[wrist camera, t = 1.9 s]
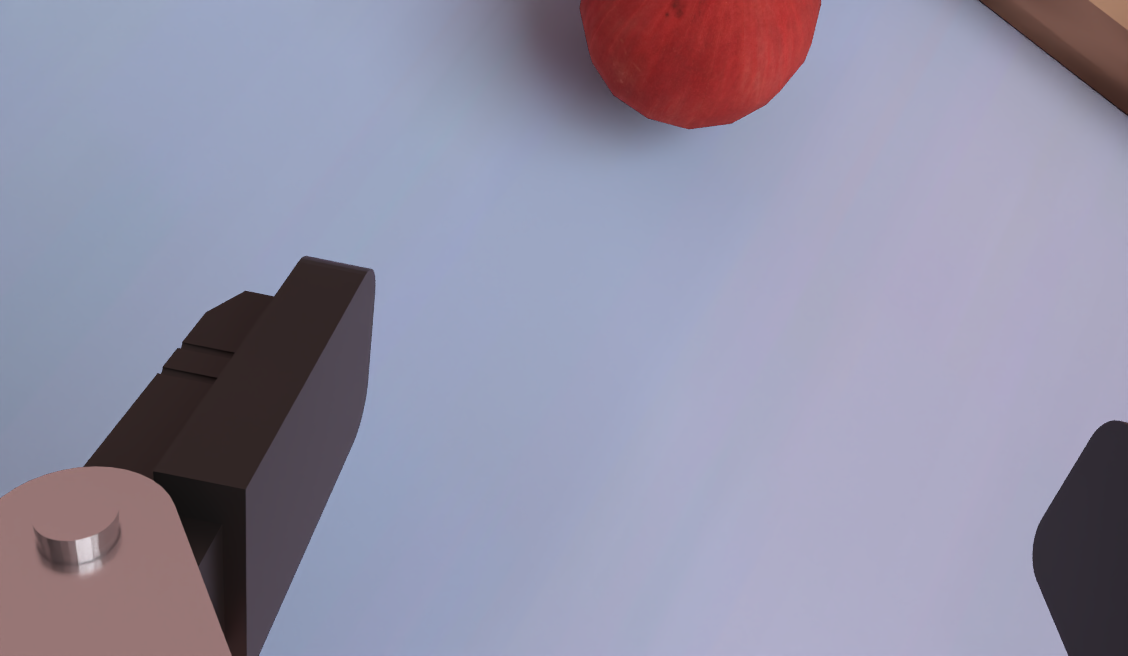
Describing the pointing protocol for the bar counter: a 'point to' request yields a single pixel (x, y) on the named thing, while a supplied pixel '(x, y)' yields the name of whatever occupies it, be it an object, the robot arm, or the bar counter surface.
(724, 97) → the onion
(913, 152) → the bar counter surface
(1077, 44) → the walnut tray
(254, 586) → the robot arm
